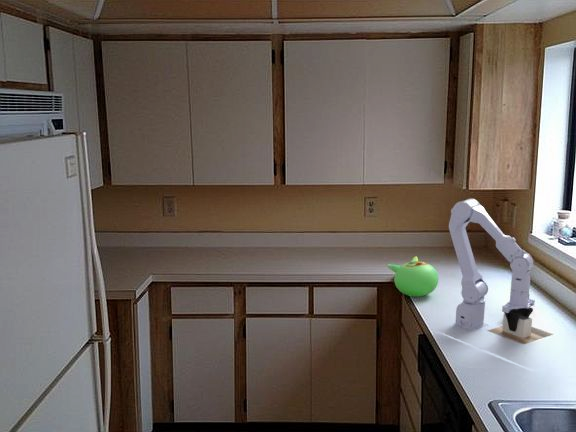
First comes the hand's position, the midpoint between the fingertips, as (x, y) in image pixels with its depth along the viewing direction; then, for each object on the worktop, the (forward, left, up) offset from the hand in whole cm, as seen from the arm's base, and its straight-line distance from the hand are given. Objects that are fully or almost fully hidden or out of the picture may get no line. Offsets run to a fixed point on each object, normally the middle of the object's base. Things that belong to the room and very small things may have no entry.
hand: (516, 329), depth 199 cm
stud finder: (0, 0, -1) cm, 1 cm away
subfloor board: (+2, 0, -2) cm, 3 cm away
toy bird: (+3, +49, -2) cm, 50 cm away
